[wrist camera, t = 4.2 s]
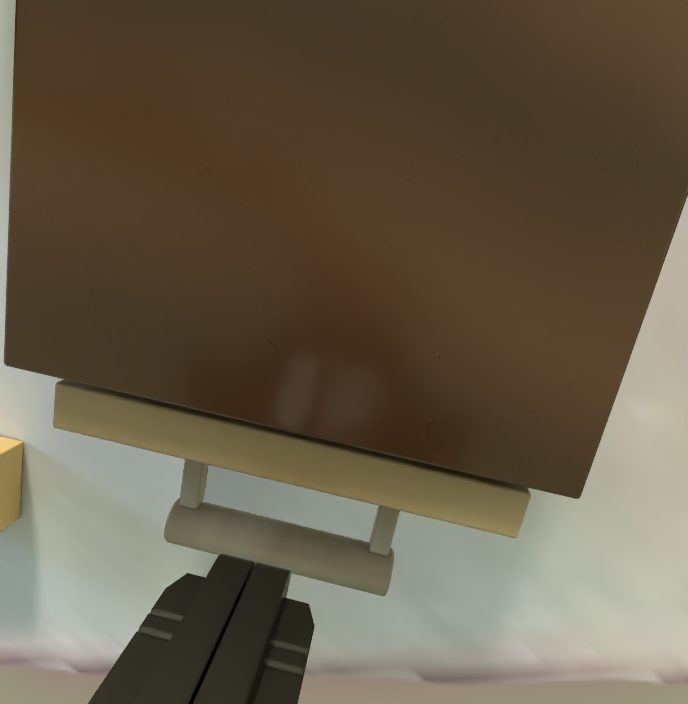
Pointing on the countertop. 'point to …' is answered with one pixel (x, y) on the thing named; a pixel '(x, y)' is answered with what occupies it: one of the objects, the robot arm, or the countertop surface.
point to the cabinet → (351, 214)
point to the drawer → (293, 468)
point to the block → (10, 480)
